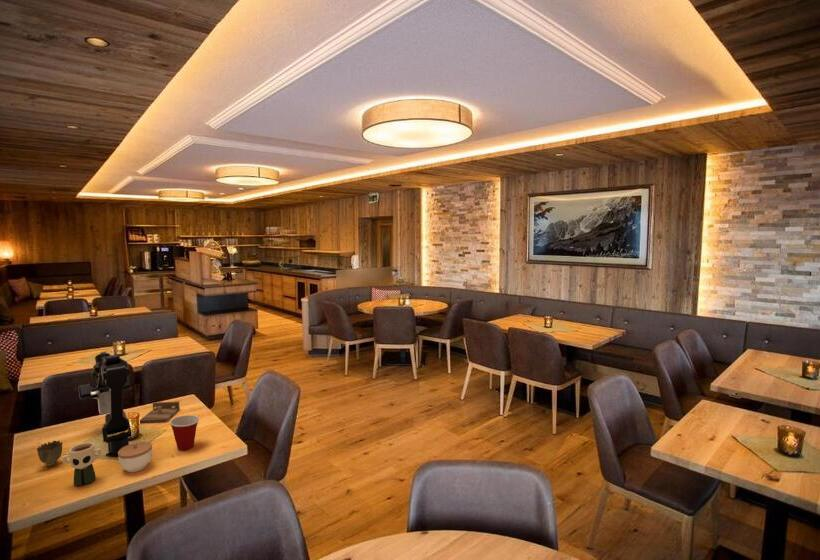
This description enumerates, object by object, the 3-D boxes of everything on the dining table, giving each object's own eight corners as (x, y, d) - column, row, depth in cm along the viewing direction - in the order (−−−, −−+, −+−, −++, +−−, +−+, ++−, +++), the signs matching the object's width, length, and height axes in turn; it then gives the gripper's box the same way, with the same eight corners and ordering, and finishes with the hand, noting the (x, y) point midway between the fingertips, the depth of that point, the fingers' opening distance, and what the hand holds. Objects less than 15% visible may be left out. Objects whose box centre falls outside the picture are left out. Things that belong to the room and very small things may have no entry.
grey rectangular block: (113, 411, 192) (111, 386, 191) (100, 414, 189) (97, 388, 188) (111, 408, 196) (109, 383, 195) (98, 411, 193) (96, 386, 191)
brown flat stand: (166, 422, 196) (165, 412, 196) (139, 423, 195) (138, 413, 195) (179, 410, 210) (179, 400, 210) (154, 411, 209) (153, 401, 208)
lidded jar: (129, 461, 162) (127, 438, 161) (158, 459, 163) (156, 436, 163) (112, 477, 152) (110, 452, 151) (144, 475, 153) (142, 450, 152)
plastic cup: (198, 451, 169) (196, 423, 168) (168, 455, 166) (166, 426, 165) (203, 439, 180) (201, 412, 179) (175, 442, 177) (173, 415, 175)
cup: (34, 467, 158) (32, 447, 157) (56, 458, 165) (54, 438, 164) (46, 471, 155) (44, 451, 154) (68, 462, 162) (66, 442, 161)
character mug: (63, 491, 143) (59, 455, 142) (67, 481, 149) (64, 446, 148) (102, 482, 148) (99, 447, 147) (105, 472, 155) (102, 439, 153)
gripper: (128, 359, 194) (125, 377, 203) (76, 368, 181) (76, 386, 190) (132, 380, 189) (129, 397, 198) (80, 390, 176) (79, 408, 185)
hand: (104, 396), depth 193 cm, fingers closed on grey rectangular block, 5 cm apart
